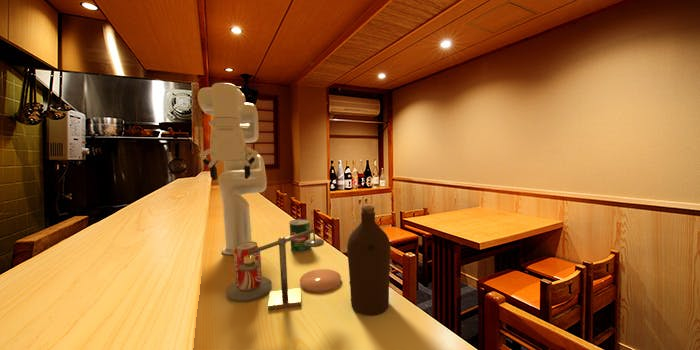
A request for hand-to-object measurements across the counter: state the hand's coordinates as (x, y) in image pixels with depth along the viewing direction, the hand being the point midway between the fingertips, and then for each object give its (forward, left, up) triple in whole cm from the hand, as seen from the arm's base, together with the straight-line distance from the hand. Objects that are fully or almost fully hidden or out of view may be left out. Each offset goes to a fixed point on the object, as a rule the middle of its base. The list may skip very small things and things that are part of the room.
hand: (231, 179), depth 90 cm
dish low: (+15, +6, -30) cm, 34 cm away
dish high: (+15, +26, -30) cm, 43 cm away
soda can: (+15, +6, -29) cm, 33 cm away
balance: (+23, +16, -30) cm, 41 cm away
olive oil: (+30, +37, -31) cm, 57 cm away
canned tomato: (-14, +21, -31) cm, 40 cm away
